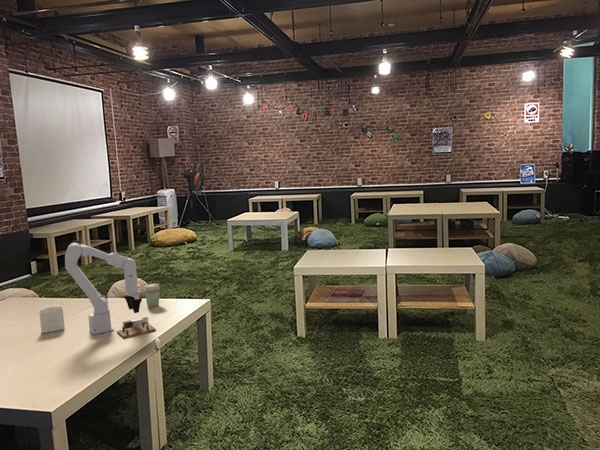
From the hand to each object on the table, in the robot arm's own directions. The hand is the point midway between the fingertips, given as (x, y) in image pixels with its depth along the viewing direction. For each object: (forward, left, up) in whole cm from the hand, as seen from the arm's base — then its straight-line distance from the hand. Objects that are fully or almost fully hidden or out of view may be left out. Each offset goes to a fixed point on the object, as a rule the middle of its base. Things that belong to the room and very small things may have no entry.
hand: (133, 310), depth 246 cm
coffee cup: (+18, +26, -8) cm, 32 cm away
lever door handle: (0, 0, -7) cm, 7 cm away
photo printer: (-33, +21, -8) cm, 40 cm away
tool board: (-3, -10, -7) cm, 13 cm away
